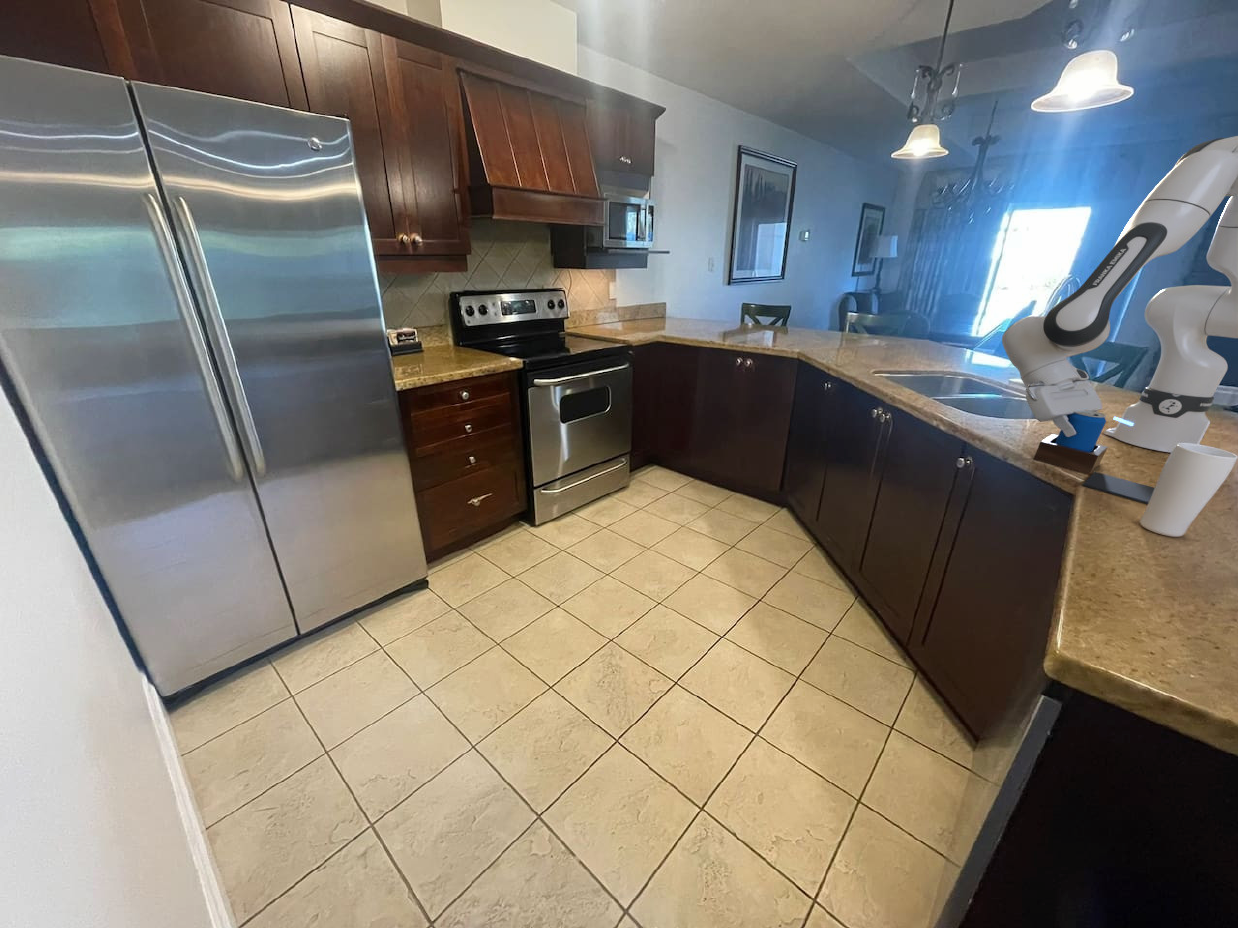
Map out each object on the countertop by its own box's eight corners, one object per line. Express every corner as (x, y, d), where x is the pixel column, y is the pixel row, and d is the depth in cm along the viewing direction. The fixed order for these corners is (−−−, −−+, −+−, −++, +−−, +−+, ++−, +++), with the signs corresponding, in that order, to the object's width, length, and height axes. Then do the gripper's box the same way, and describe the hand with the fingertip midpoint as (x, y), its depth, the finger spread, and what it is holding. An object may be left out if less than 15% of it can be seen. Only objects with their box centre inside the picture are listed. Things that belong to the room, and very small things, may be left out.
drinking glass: (1124, 523, 83) (1167, 444, 77) (1143, 517, 86) (1186, 440, 80) (1177, 543, 77) (1228, 460, 71) (1196, 536, 80) (1247, 455, 74)
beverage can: (1092, 469, 106) (1116, 418, 102) (1059, 465, 107) (1082, 415, 103) (1072, 458, 112) (1095, 410, 107) (1042, 455, 113) (1062, 407, 108)
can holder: (1044, 450, 116) (1052, 433, 114) (1099, 464, 109) (1107, 446, 107) (1032, 459, 111) (1040, 441, 109) (1089, 474, 103) (1098, 455, 102)
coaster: (1093, 473, 104) (1094, 471, 104) (1165, 492, 96) (1166, 490, 96) (1082, 485, 98) (1083, 483, 97) (1157, 507, 90) (1159, 505, 90)
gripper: (1038, 376, 104) (1072, 432, 100) (1090, 371, 112) (1124, 423, 107) (1009, 390, 110) (1040, 444, 105) (1060, 385, 117) (1091, 435, 113)
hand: (1083, 433), depth 106 cm, fingers closed on beverage can, 6 cm apart
